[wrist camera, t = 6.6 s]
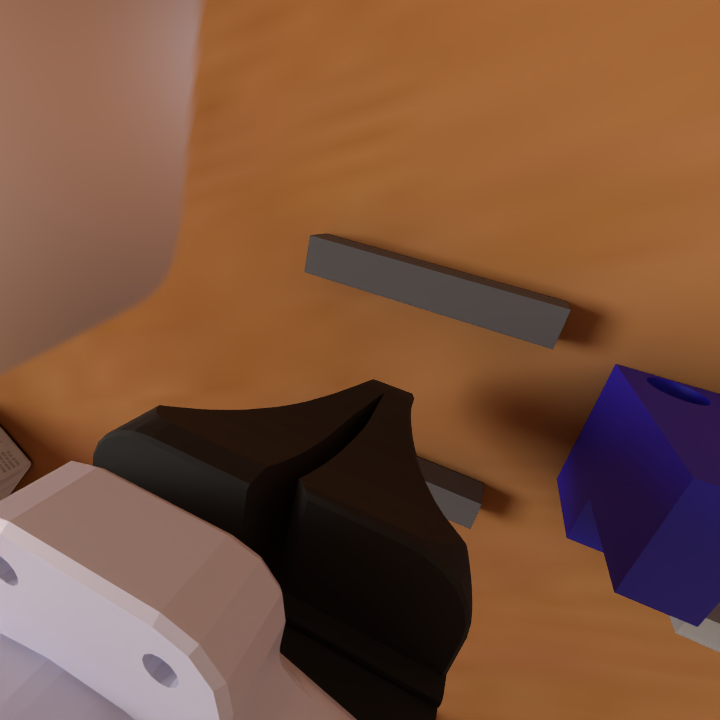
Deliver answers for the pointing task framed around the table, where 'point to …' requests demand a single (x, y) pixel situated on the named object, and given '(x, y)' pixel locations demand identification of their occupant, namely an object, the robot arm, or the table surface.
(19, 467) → the coffee box
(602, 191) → the table surface
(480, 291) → the guide channel
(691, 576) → the cable clip
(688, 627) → the bracket
